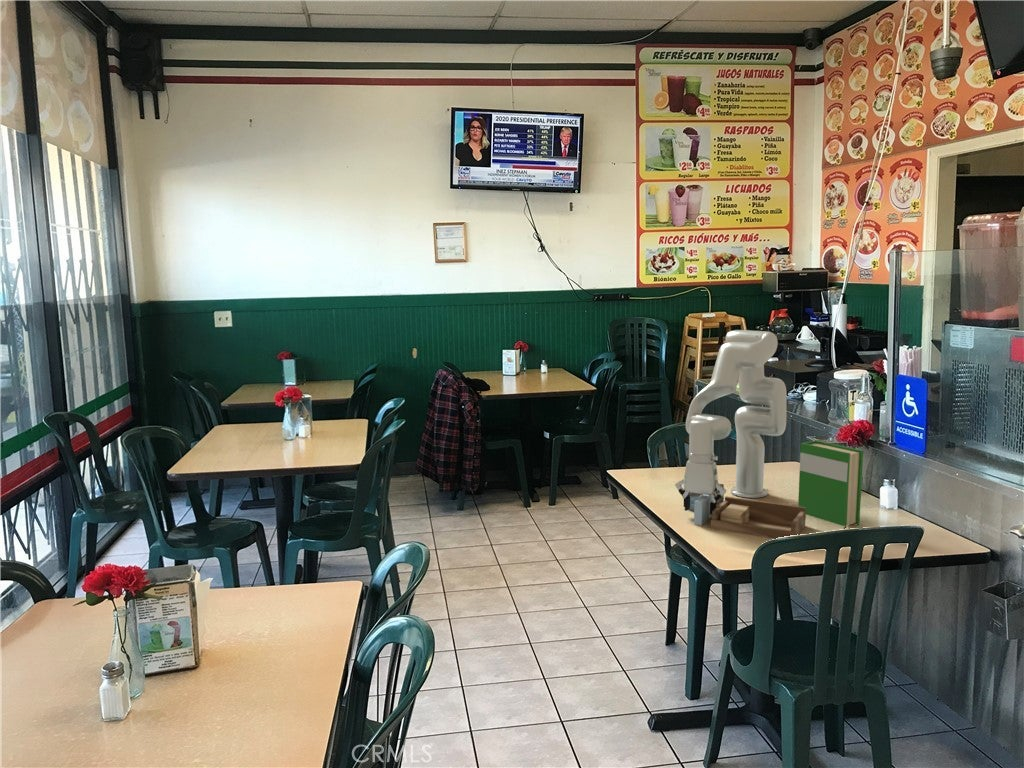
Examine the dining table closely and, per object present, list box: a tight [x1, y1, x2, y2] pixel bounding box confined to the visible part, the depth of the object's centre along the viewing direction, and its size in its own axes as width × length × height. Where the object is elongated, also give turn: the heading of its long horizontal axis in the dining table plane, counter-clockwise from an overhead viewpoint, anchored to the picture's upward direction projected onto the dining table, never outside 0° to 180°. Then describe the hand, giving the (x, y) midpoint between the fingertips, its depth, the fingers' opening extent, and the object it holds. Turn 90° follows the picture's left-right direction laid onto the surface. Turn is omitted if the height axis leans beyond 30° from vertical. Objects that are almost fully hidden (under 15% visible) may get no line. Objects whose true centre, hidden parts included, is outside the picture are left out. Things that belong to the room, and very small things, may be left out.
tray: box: [710, 495, 807, 539], centre depth 260 cm, size 16×25×7 cm, turn 60°
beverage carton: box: [687, 483, 725, 511], centre depth 285 cm, size 8×19×7 cm, turn 150°
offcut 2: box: [720, 512, 749, 524], centre depth 264 cm, size 11×6×2 cm, turn 150°
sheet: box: [693, 494, 712, 526], centre depth 268 cm, size 12×2×8 cm, turn 150°
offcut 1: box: [721, 504, 750, 520], centre depth 263 cm, size 11×6×2 cm, turn 150°
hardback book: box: [797, 440, 864, 529], centre depth 268 cm, size 18×7×24 cm, turn 32°
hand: (699, 511), depth 268 cm, fingers open, 7 cm apart
